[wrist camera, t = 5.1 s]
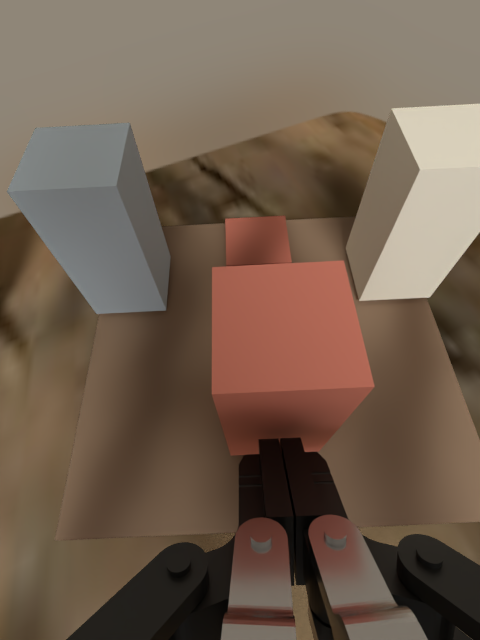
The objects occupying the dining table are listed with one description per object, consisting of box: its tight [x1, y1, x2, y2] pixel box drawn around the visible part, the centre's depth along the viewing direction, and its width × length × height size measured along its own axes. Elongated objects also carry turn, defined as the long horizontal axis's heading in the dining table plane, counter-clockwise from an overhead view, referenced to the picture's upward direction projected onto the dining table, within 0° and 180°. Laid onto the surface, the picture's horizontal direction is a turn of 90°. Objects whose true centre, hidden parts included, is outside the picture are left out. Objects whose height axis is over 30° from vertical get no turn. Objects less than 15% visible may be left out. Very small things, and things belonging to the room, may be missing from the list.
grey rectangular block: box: [7, 123, 171, 314], centre depth 17 cm, size 4×4×8 cm
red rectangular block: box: [212, 261, 375, 456], centre depth 13 cm, size 4×4×8 cm
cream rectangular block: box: [346, 104, 480, 301], centre depth 17 cm, size 4×4×8 cm
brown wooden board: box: [55, 216, 480, 540], centre depth 20 cm, size 19×18×2 cm
